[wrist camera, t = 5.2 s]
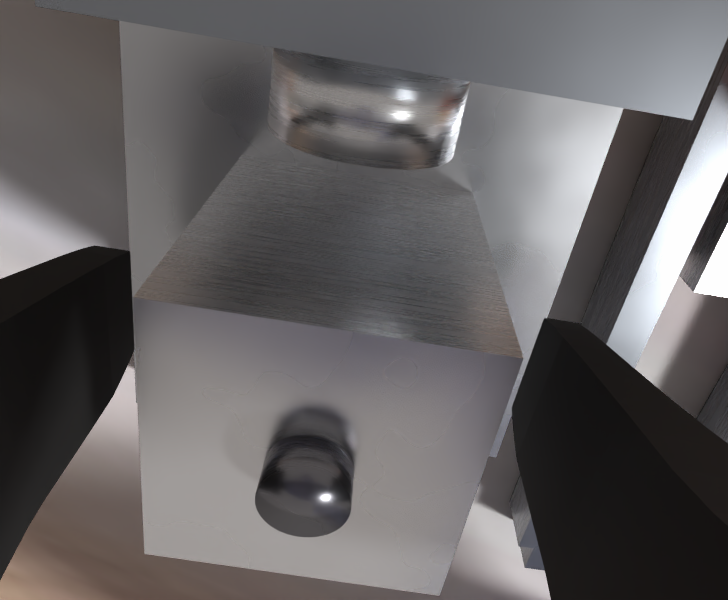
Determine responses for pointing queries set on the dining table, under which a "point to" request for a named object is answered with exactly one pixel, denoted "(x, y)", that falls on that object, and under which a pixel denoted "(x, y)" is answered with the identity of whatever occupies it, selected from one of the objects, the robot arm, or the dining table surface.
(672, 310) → the dining table surface
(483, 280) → the block
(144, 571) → the dining table surface
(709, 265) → the lever
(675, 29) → the press
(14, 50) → the dining table surface
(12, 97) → the dining table surface
